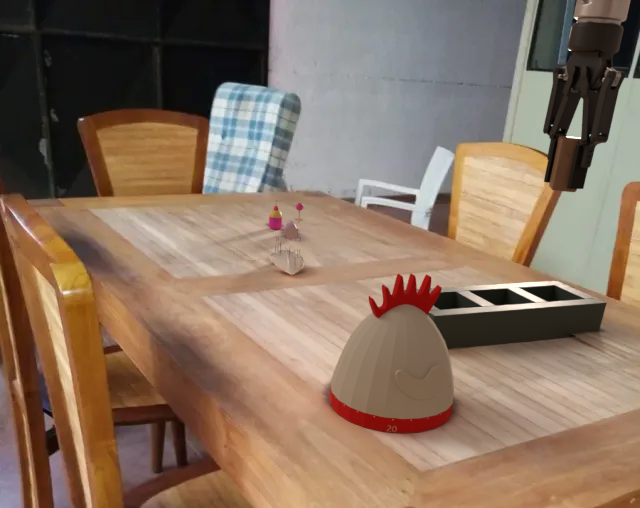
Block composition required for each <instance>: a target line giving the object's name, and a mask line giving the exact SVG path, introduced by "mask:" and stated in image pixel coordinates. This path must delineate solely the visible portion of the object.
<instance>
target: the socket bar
mask: <svg viewBox="0 0 640 508" xmlns="http://www.w3.org/2000/svg"><path fill="white" fill-rule="evenodd" d="M434 288H435V287H431V288H430V293H431V292H432V291H433V289H434ZM419 289H420V288H417V292H418V291H419ZM405 290H406V289H404V293H405ZM607 304H608V303H607V301H604V300H602V299H600V298H598V297H595V296H592V295H591V294H588V293H585V292H583V291H581V290H579V289H577V288H574V287H572V286H570V285H568V284H565V283H563V282H560V281H558V280H544V281H529V282H511V283H496V284H495V283H494V284H480V285H479V284H478V285H477V284H476V285H461V286H445V287H442V290H441V292H440V295H439V297H438V298H437V300H436V302H435V304H434V305H433V307H432V309H431V310H430V312H429V314H428V316H429V317H430V318H431V319H432V321H433V322H434V323H435V325H436V326H437V328H438V330H439V331H441V335H442V337H443V339H444V340H445V343H446V346H447V349H448V350H451V349H453V350H455V349H463V348H475V347H483V346H494V345H505V344H514V343H524V342H533V341H545V340H553V339H563V338H565V339H566V338H574V337H576V335H575V334H577V333H578V334H580V333H589V332H599V331H600V329H601V327H602V322H603V319H604V314H605V312H606V311H605V310H606V308H607Z"/></svg>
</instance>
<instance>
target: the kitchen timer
mask: <svg viewBox="0 0 640 508" xmlns="http://www.w3.org/2000/svg"><path fill="white" fill-rule="evenodd" d="M430 288H432V276H430V275H428V274H425V275H424V278H423V279H422V282H421V283H420V286H419V288H418V287H417V277H416V275H415V274H413V273H410V274H409V276H408V280H407V284H406V287H405V281H404V276H403V275H402V274H400V273H397V274H396V276H395V282H394V284H393V289H392V292H391V291H390V289H389V288H388V286H386V285H385V284H382V285H381V293H382V304H381V305H380V306H378V304H377V302H376V301H375V299H374V298H373V297H372V296H370V295H369V296H368V303H369V307H370V310H371V313H369V314H367V316H366V317H365V318H363V319H362V321H360V323H359V324H358V325H357V326H356V327H355V328H354V329H353V331H352V333H351V334H350V335H349V338H348V339H347V341H346V343H345V344H344V347H343V349H342V350H341V353H340V355H339V358H338V360H337V363H336V365H335V368H334V370H333V372H332V377H331V381H330V386H329V396H328V397H329V403H330V407H331V408H332V409H333V410H334V412H335V413H336V414H337V415H339V416H340V417H342V418H343V419H345V420H346V421H348V422H350V423H352V424H354V425H358V426H360V427H362V428H366V429H370V430H374V431H379V432H383V433H395V434H410V433H411V434H412V433H421V432H427V431H430V430H431V431H432V430H435V429H437V428H439V427H441V426H444V425H445V424H446V423H447V422H448V420H450V418H451V416H452V412H453V411H452V409H453V404H454V395H455V383H454V375H453V369H452V368H453V367H452V362H451V357H450V352H449V349H447V346H446V343H445V340H444V339H443V337H442V335H441V331H439V330H438V328H437V326H436V325H435V323H434V322H433V321H432V319H431V318H430V317H429V316H428V314H429V312H430V310H431V309H432V307H433V305H434V304H435V302H436V300H437V298H438V297H439V295H440V292H441V290H442V288H443V287H442V286H440V285H438V284H437V285H436V286H434V287H433V288H434V289H433V291H432V292H431V293H430ZM417 289H419V291H418V292H417ZM404 290H405V293H404Z"/></svg>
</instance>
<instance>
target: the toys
mask: <svg viewBox="0 0 640 508" xmlns="http://www.w3.org/2000/svg"><path fill="white" fill-rule="evenodd" d="M279 209H280V208H279V206H278V205H277V199H275V205H274V206H273V209H272V210H271V211H270V212H269V215H268V227H269V229H271V230H277V231H278V230H281V229H282V228H283V233H284V236H285V239H288V240H290V241H291V240H296V238H297V237H298V235H299V229H298V227H297V225H296V222H295V221H293V220H291V219H288V220H286V221H284V223H283V214H282V212H281V210H279ZM295 209H296V210H297V211H298V216H297V217H298V218H297V223H298V224H299V223H300V219H301V211H302V210H303V209H304V204H303V203H302V202H297V203H296V205H295ZM295 237H296V238H295Z"/></svg>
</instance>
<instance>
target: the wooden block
mask: <svg viewBox="0 0 640 508" xmlns="http://www.w3.org/2000/svg"><path fill="white" fill-rule="evenodd" d="M579 141H581V136H580V137H578V136H568V135H567V136H560V137H559V139H558V143H557V148H556V153H555V158H554V163H553V168H552V172H551V177H550V182H549V183H548V187H549V188H550V189H551V190H552V191H554V192H555V191H556V192H567V193H576V192H577V190H578V189H569V188H567V185H568V181H569V176H570V172H571V167H572V162H573V158H574V153H575V149H576V145H578V144H577V142H579Z"/></svg>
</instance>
